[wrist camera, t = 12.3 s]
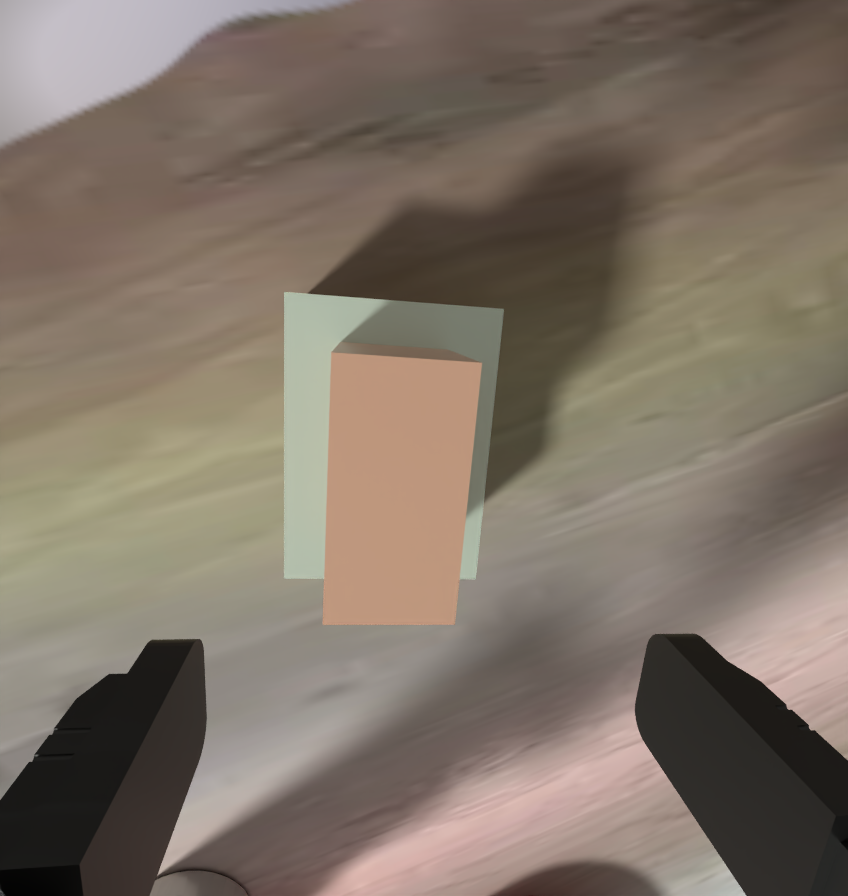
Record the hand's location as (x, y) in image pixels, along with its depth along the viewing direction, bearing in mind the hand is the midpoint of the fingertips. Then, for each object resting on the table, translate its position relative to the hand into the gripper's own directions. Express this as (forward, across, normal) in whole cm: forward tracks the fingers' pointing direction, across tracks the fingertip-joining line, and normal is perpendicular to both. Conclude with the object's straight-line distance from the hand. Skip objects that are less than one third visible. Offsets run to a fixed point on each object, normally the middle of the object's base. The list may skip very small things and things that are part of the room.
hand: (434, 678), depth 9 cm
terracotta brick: (+16, 0, 0) cm, 16 cm away
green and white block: (+23, 0, 0) cm, 23 cm away
